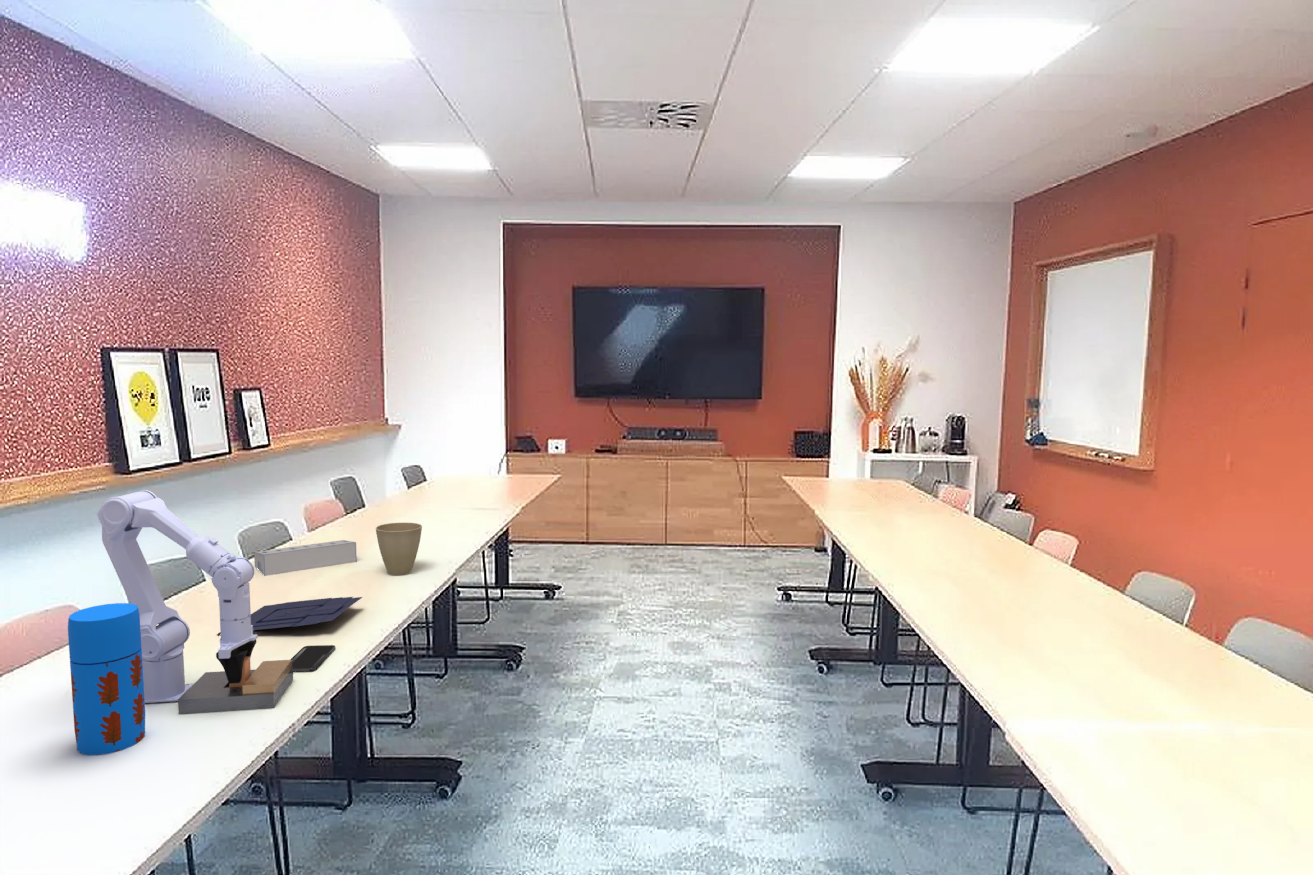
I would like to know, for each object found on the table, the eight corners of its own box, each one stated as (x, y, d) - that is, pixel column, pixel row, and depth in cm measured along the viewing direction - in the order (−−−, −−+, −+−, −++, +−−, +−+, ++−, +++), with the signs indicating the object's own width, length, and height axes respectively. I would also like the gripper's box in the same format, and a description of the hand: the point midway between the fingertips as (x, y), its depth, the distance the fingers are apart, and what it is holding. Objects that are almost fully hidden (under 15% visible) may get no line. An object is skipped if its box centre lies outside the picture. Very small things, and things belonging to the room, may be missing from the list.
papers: (330, 633, 198) (327, 619, 198) (217, 645, 199) (214, 631, 199) (367, 604, 222) (365, 591, 222) (266, 614, 223) (264, 602, 223)
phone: (279, 669, 176) (304, 645, 191) (279, 674, 176) (304, 649, 191) (314, 669, 176) (337, 645, 191) (315, 673, 177) (337, 649, 191)
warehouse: (344, 555, 284) (343, 534, 284) (356, 563, 273) (356, 542, 272) (254, 567, 265) (253, 546, 265) (264, 577, 254) (263, 554, 254)
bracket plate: (178, 714, 155) (177, 690, 154) (206, 685, 169) (205, 663, 168) (273, 707, 158) (273, 684, 158) (293, 680, 172) (292, 658, 171)
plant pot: (410, 579, 251) (409, 532, 250) (368, 577, 254) (366, 530, 252) (430, 568, 266) (429, 523, 264) (390, 565, 268) (389, 521, 267)
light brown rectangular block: (229, 695, 162) (228, 663, 161) (235, 688, 165) (233, 657, 164) (246, 694, 162) (244, 662, 161) (251, 687, 165) (250, 656, 164)
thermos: (159, 727, 149) (152, 602, 147) (122, 755, 139) (114, 621, 136) (102, 727, 149) (94, 602, 146) (61, 755, 138) (52, 621, 136)
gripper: (243, 627, 155) (246, 691, 157) (266, 605, 169) (269, 664, 171) (206, 629, 154) (209, 694, 155) (232, 606, 168) (234, 666, 170)
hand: (238, 678), depth 163 cm, fingers open, 3 cm apart
